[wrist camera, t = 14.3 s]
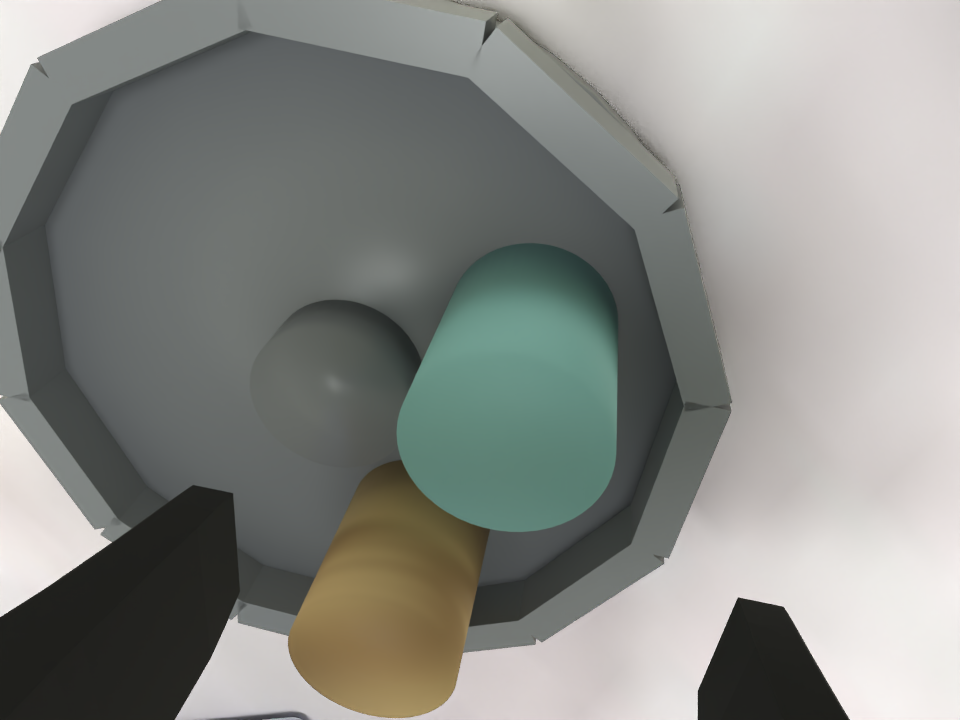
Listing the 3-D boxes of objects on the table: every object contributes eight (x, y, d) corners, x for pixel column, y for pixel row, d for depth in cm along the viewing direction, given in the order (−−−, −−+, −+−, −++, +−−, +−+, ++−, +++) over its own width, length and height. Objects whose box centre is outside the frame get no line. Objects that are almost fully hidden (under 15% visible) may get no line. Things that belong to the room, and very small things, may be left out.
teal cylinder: (636, 376, 18) (639, 516, 14) (480, 406, 19) (440, 544, 15) (593, 223, 16) (582, 329, 12) (426, 267, 18) (362, 378, 13)
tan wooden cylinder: (506, 560, 22) (478, 714, 18) (381, 572, 23) (326, 720, 19) (466, 450, 20) (424, 593, 16) (333, 469, 21) (260, 607, 17)
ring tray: (768, 547, 21) (784, 616, 19) (241, 620, 27) (209, 680, 25) (591, -178, 14) (585, -195, 12) (-95, 132, 19) (-184, 159, 17)
